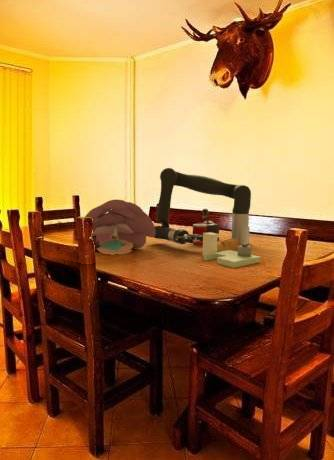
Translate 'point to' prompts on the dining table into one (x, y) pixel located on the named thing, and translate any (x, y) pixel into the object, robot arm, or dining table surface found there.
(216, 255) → the deck
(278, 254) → the dining table surface
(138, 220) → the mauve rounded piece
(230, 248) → the croissant
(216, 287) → the dining table surface
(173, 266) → the dining table surface
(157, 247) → the dining table surface
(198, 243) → the canned food
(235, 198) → the robot arm
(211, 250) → the beige bar
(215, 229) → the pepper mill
